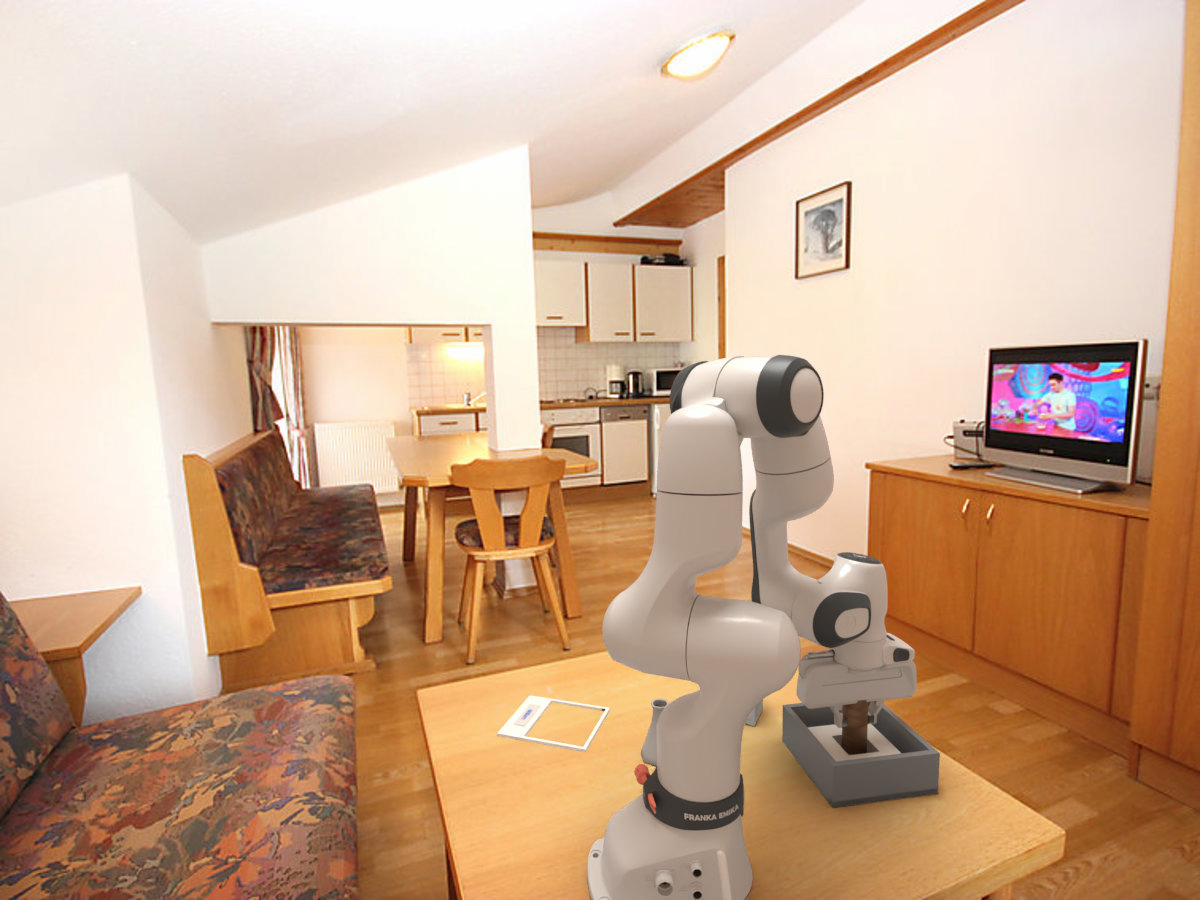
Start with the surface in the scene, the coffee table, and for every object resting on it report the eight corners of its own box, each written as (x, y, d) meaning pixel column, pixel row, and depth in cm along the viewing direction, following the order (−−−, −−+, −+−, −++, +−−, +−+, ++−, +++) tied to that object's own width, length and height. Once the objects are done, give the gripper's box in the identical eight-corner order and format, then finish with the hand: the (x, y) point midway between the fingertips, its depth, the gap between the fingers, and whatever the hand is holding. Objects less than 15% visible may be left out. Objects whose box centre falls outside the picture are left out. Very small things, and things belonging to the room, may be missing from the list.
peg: (849, 757, 104) (851, 701, 102) (837, 743, 108) (838, 689, 106) (871, 754, 104) (873, 699, 103) (858, 740, 108) (860, 687, 107)
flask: (679, 770, 106) (678, 715, 105) (637, 765, 107) (636, 712, 106) (682, 745, 113) (682, 693, 112) (643, 741, 114) (642, 690, 113)
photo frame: (529, 694, 131) (610, 707, 125) (529, 699, 131) (610, 712, 125) (497, 732, 117) (585, 748, 112) (497, 737, 118) (585, 754, 112)
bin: (832, 807, 96) (833, 766, 95) (782, 740, 113) (782, 704, 113) (937, 793, 98) (939, 753, 97) (872, 730, 116) (873, 695, 115)
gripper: (808, 662, 99) (806, 741, 101) (924, 649, 102) (921, 727, 104) (790, 645, 105) (789, 720, 107) (900, 633, 108) (897, 707, 110)
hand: (855, 723), depth 105 cm, fingers closed on peg, 4 cm apart
